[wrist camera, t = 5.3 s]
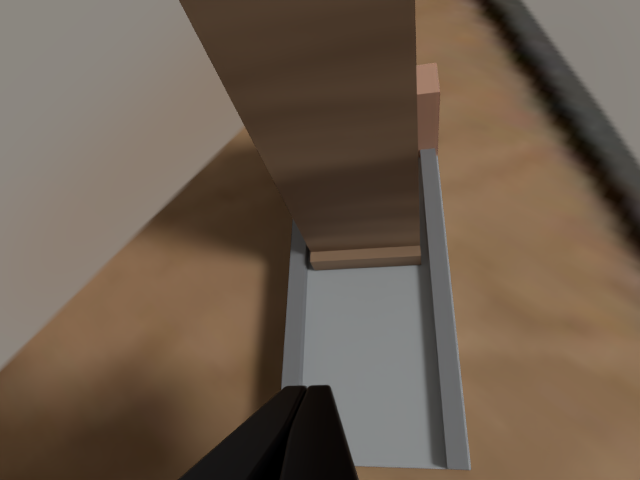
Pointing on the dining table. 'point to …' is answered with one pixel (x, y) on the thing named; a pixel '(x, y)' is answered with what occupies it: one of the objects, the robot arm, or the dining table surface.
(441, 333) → the rail
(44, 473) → the dining table surface
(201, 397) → the dining table surface
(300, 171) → the slider block with knob
